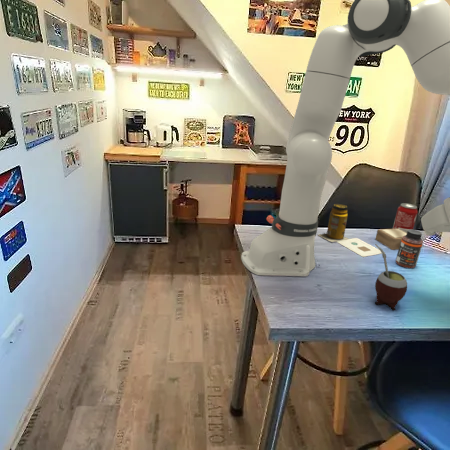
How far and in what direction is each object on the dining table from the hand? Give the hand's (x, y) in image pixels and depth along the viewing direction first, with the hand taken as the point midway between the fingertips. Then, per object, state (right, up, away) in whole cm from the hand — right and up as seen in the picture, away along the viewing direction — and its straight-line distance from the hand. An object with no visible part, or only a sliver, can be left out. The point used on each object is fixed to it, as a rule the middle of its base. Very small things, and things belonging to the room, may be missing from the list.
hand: (444, 233), depth 94 cm
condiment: (-19, -2, +34) cm, 39 cm away
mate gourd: (-19, -18, -5) cm, 26 cm away
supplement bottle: (-2, -10, +17) cm, 20 cm away
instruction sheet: (-12, -5, +27) cm, 31 cm away
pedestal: (+2, -5, +32) cm, 33 cm away
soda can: (+9, -2, +41) cm, 42 cm away
